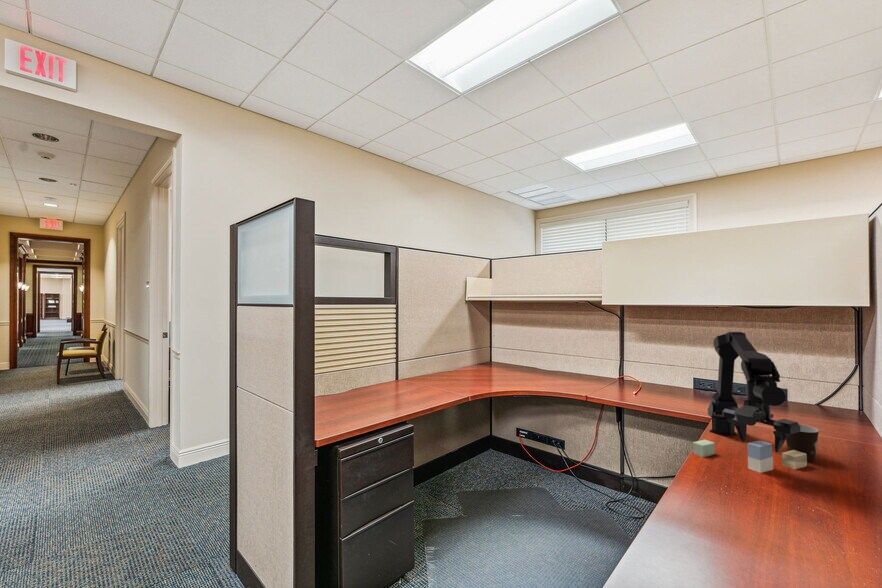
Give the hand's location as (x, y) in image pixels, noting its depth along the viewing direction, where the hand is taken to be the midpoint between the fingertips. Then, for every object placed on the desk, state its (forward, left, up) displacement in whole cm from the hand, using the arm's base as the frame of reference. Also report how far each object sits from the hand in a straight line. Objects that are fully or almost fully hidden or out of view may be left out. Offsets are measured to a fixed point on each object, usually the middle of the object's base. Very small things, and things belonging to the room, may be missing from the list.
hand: (759, 447), depth 122 cm
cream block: (0, 0, -7) cm, 7 cm away
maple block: (+3, +12, -7) cm, 14 cm away
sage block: (-15, -4, -7) cm, 17 cm away
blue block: (0, 0, -3) cm, 3 cm away
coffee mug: (+1, +22, -7) cm, 23 cm away
